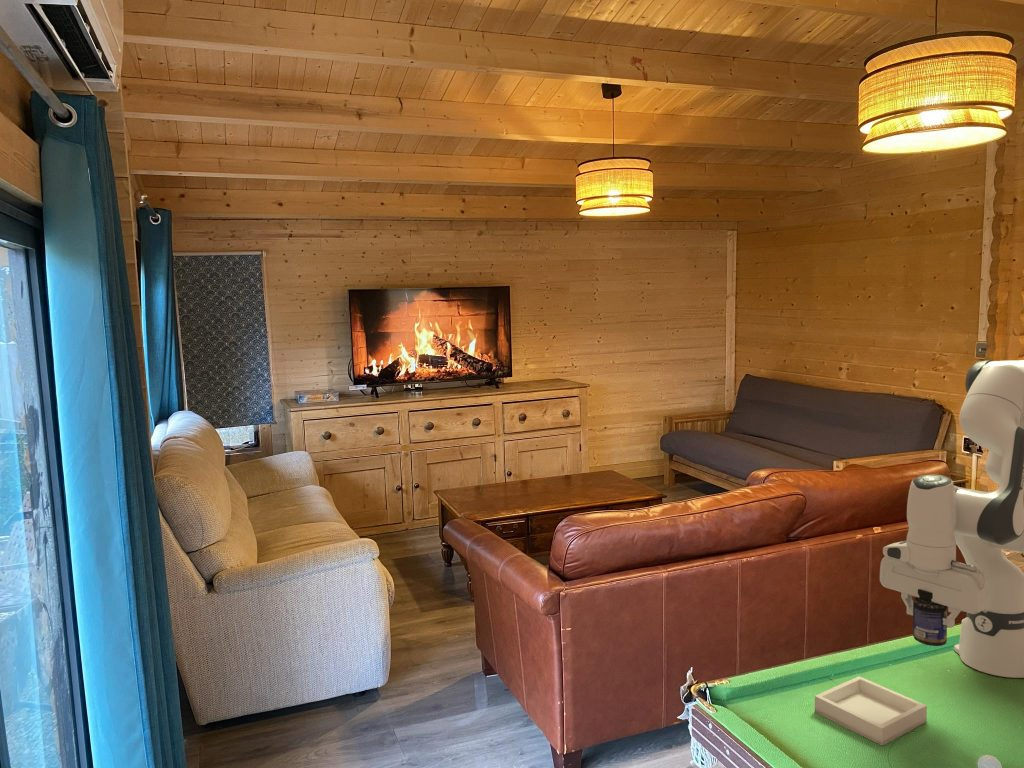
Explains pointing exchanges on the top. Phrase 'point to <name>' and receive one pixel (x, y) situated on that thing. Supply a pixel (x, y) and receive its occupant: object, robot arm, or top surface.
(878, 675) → the top surface
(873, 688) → the tray
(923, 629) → the pill bottle
